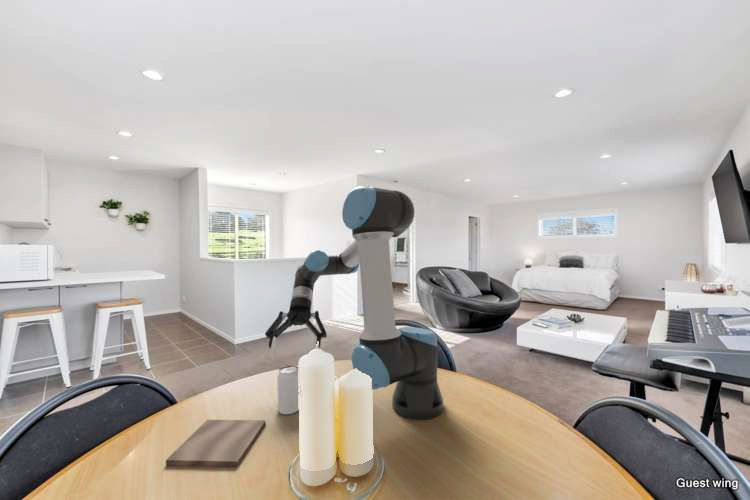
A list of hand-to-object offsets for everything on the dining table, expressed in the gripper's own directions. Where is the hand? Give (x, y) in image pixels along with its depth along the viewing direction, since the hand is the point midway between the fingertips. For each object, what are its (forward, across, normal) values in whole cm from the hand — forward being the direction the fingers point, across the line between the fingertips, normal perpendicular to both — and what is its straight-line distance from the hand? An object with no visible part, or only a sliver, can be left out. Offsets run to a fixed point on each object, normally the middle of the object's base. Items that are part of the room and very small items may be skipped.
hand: (292, 357), depth 100 cm
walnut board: (+25, +13, +8) cm, 29 cm away
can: (+15, -1, -3) cm, 15 cm away
